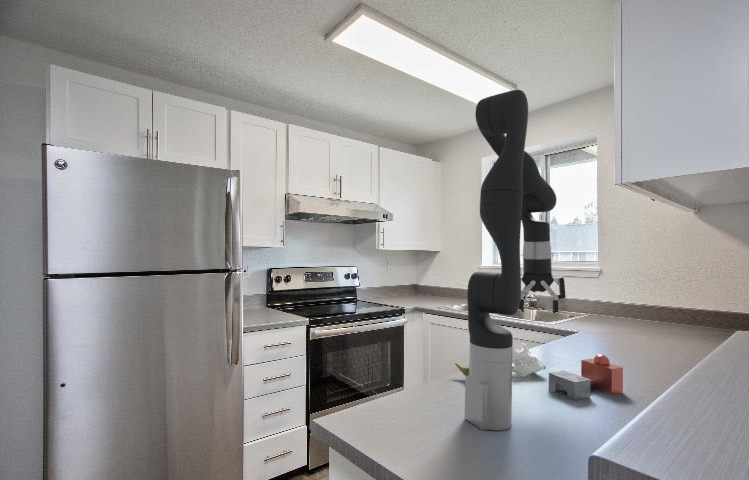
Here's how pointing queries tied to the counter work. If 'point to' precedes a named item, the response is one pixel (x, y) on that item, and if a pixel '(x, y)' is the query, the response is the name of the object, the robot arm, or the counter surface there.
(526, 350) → the jaw support
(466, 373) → the neti pot
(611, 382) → the red domed block
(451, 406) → the counter surface
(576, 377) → the block
